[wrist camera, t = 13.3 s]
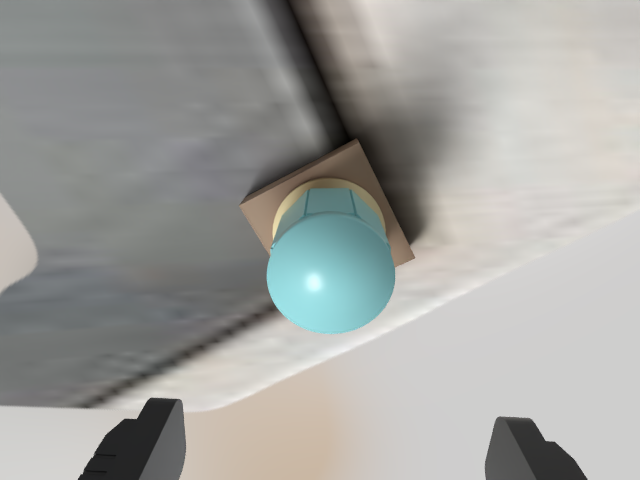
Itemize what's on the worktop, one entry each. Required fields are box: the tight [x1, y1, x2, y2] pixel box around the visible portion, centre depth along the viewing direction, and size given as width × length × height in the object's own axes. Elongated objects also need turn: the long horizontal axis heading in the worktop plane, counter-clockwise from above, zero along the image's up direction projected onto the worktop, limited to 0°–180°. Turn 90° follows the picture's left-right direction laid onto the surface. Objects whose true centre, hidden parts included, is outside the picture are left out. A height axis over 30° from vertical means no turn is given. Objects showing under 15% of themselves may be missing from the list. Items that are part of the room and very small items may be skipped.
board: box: [239, 138, 415, 267], centre depth 25 cm, size 8×8×6 cm
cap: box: [267, 188, 395, 334], centre depth 23 cm, size 6×6×6 cm
